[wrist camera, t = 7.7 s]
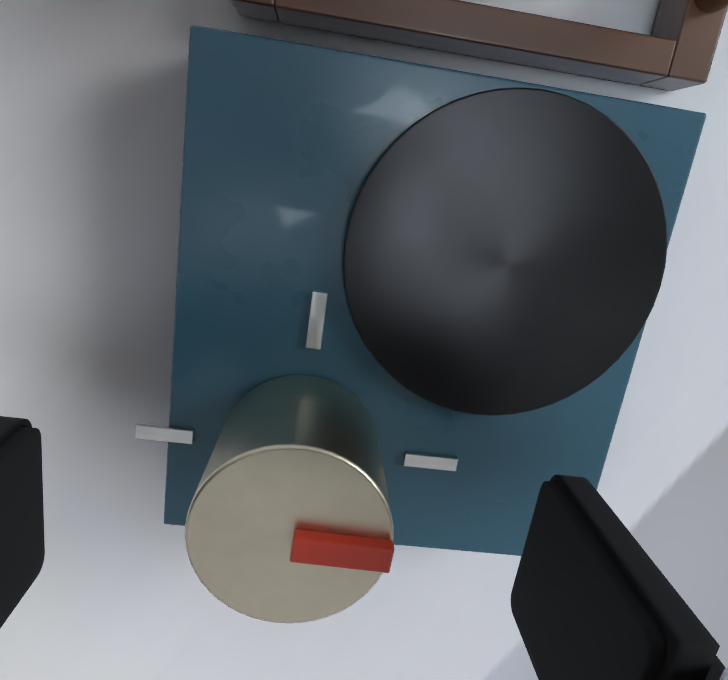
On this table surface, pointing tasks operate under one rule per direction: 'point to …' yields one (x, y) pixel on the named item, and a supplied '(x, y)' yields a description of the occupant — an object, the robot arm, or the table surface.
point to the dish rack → (525, 35)
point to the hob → (326, 281)
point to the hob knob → (292, 504)
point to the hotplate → (504, 251)
